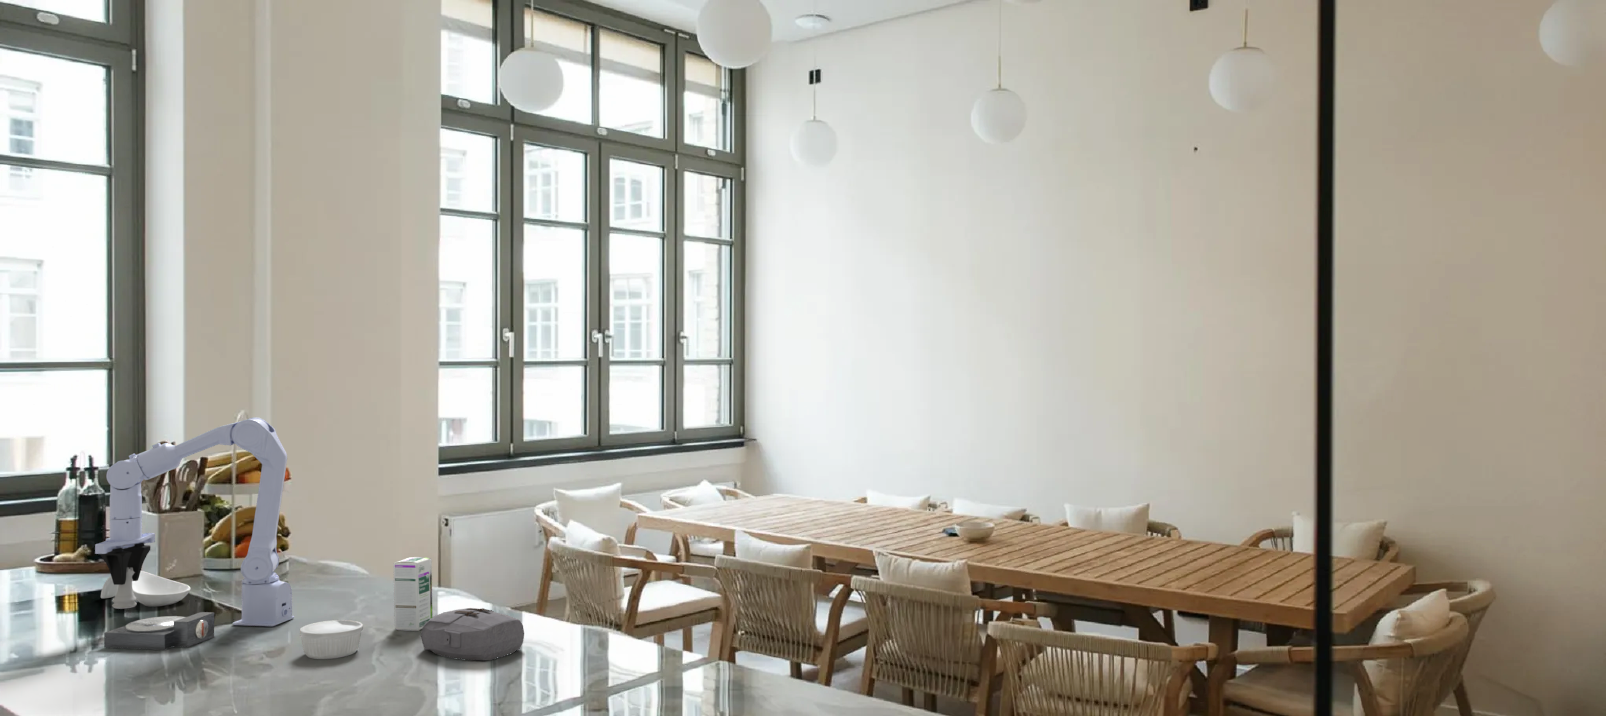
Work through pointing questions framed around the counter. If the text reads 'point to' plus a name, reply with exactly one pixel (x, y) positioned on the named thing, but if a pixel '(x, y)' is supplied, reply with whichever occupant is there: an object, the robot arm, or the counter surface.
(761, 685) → the counter surface
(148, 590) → the spoon rest
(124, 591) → the rook chess piece
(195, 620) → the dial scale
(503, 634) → the grey rounded bag
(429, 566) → the syrup box
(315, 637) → the ramekin
